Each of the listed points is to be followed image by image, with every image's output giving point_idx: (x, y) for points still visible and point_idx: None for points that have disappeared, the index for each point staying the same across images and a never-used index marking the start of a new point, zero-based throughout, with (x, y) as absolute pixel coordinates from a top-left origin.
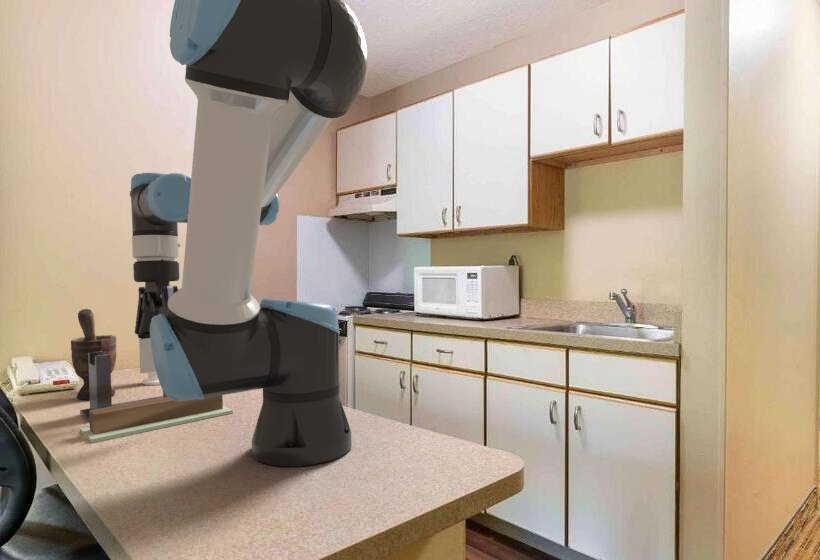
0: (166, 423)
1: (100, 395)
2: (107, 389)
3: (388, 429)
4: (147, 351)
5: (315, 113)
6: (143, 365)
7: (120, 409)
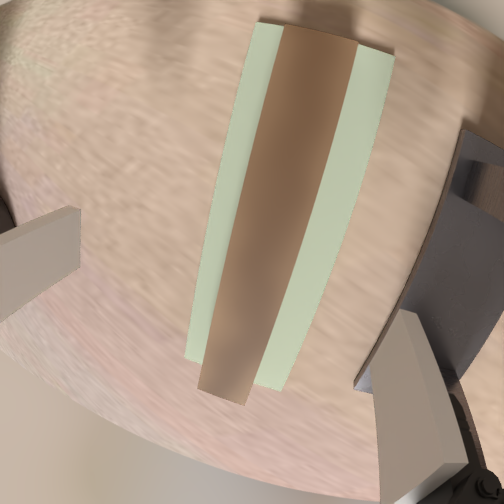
0: (213, 210)
1: (500, 177)
2: (501, 205)
3: (2, 338)
4: (403, 415)
5: None
6: (403, 341)
7: (266, 102)
